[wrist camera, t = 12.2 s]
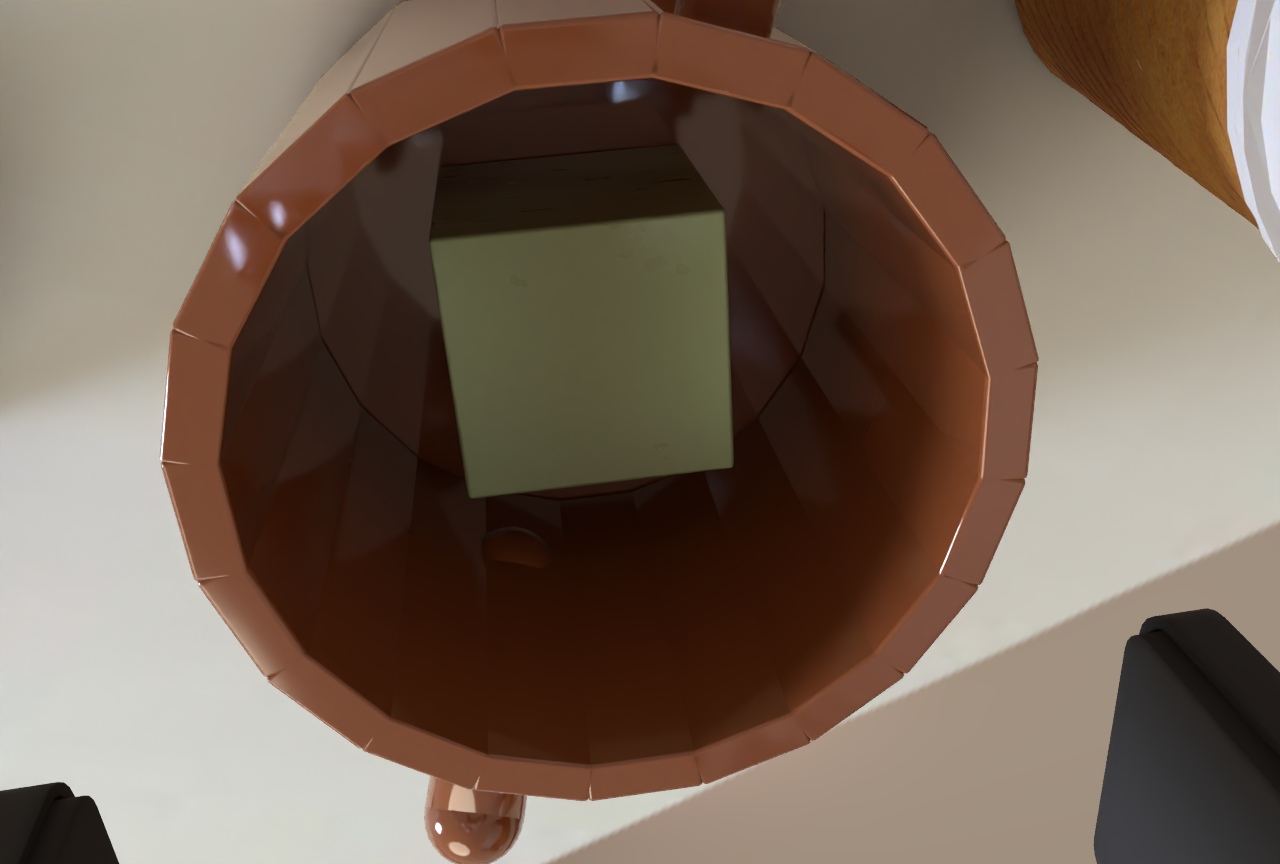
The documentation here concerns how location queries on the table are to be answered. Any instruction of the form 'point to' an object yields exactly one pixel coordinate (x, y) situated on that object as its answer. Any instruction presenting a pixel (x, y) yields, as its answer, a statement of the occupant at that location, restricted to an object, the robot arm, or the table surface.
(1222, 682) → the robot arm
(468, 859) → the teapot spout handle
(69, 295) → the table surface
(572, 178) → the tea block
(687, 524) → the brown hollow round container
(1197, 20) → the disposable coffee cup
